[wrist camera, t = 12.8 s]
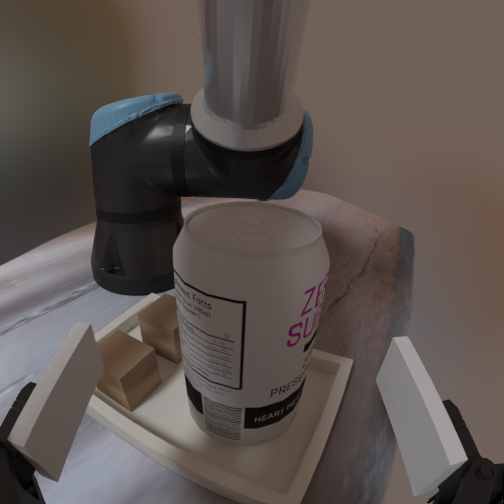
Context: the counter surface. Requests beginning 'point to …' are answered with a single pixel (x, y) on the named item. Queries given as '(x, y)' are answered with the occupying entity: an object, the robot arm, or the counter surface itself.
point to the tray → (218, 453)
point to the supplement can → (248, 315)
